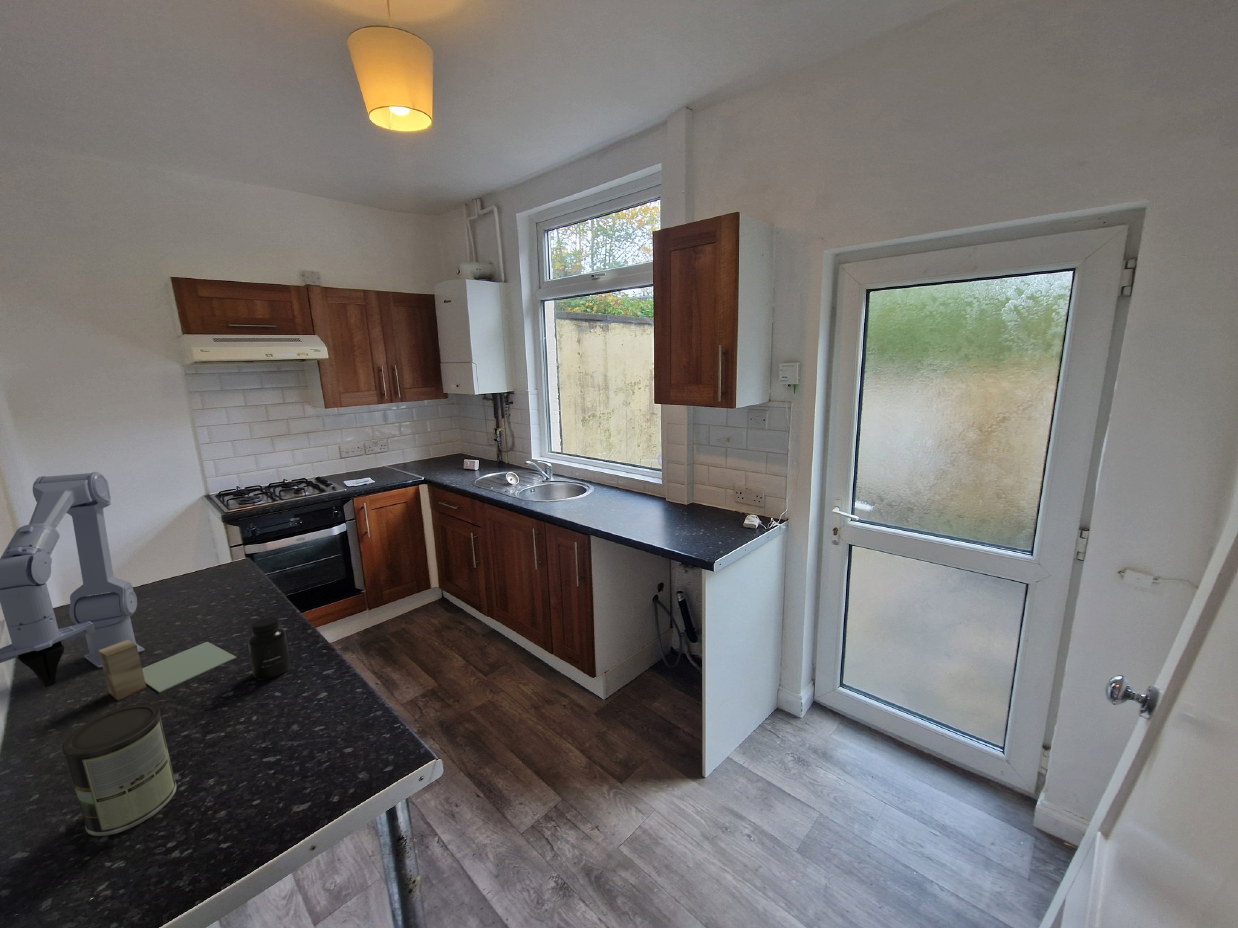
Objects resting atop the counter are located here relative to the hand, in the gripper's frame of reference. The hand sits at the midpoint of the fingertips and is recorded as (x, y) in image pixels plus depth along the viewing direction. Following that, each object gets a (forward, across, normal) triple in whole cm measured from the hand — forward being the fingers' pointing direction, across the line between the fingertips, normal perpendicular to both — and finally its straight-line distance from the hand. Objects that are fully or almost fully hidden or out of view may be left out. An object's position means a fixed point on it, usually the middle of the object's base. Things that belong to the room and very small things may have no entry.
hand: (49, 683), depth 94 cm
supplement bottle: (+8, +28, -20) cm, 35 cm away
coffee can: (+8, -1, -38) cm, 39 cm away
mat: (+8, +20, 0) cm, 21 cm away
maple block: (+8, +10, 0) cm, 13 cm away
